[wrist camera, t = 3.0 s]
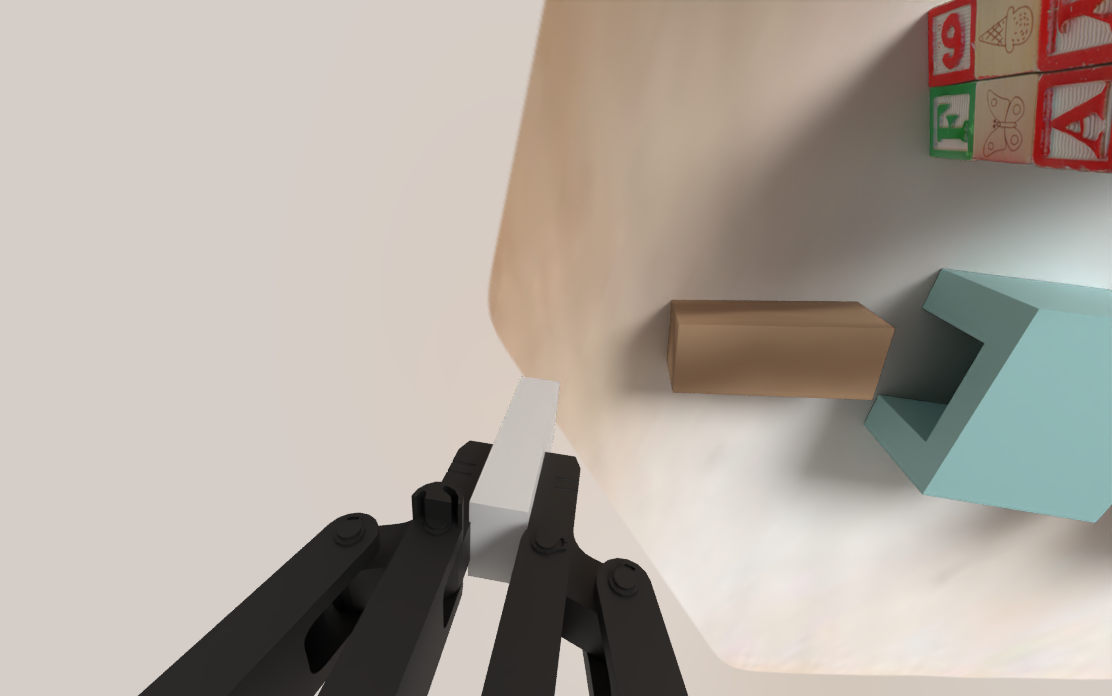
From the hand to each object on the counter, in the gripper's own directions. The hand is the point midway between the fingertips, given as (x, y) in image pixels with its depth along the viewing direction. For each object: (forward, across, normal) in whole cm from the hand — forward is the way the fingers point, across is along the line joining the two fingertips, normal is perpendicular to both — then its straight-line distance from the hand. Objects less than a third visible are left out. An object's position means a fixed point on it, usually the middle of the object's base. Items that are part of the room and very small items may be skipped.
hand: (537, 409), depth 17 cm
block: (+11, +23, 0) cm, 26 cm away
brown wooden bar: (+11, +11, 0) cm, 16 cm away
